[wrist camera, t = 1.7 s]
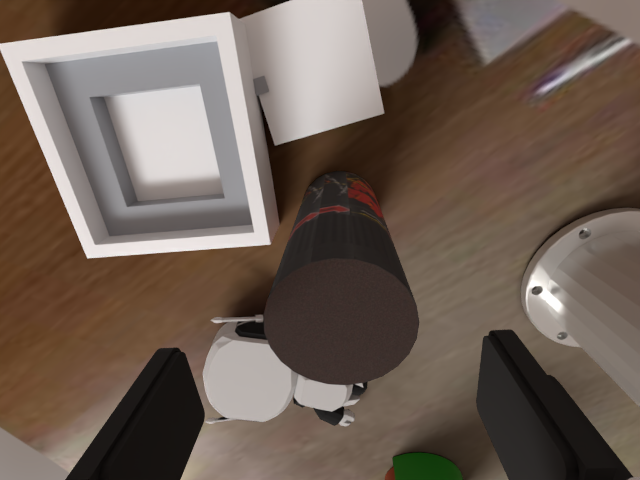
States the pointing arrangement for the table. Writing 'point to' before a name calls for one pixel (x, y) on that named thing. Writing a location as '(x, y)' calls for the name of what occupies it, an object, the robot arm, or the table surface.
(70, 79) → the housing
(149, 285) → the table surface
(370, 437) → the table surface
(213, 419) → the robot toy
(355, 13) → the lid
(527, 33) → the table surface
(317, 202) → the deodorant
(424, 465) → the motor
